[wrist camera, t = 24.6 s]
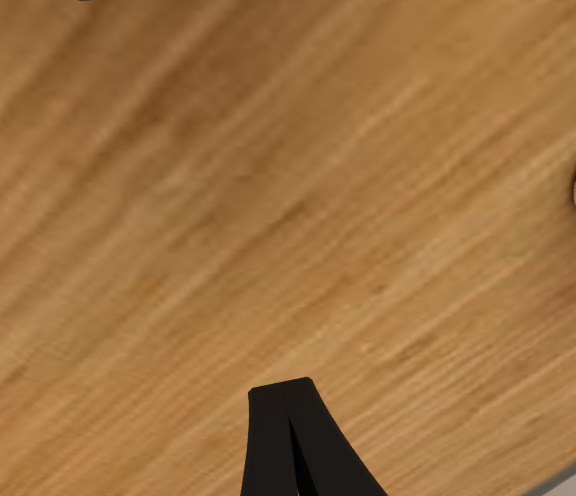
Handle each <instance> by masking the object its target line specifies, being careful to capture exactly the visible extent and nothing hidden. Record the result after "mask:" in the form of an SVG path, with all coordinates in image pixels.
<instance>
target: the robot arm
mask: <svg viewBox="0 0 576 496" xmlns="http://www.w3.org/2000/svg"><path fill="white" fill-rule="evenodd" d="M248 399H249V430H248V442H247V453H246V460H245V467H244V475H243V482H242V489H241V495H240V496H298V493H299V496H388V495H387V494H386V492H385V491H384V490H383V489H382V487H381V486H380V485H379V484H378V482H377V481H376V480H375V478H374V477H373V476H372V474H371V473H370V472H369V470H368V469H367V468H366V466H365V465H364V463H363V462H362V461H361V459H360V458H359V456H358V455H357V454H356V452H355V451H354V449H353V448H352V447H351V445H350V444H349V442H348V441H347V439H346V438H345V436H344V435H343V433H342V432H341V430H340V429H339V427H338V426H337V424H336V422H335V421H334V419H333V418H332V416H331V414H330V413H329V411H328V409H327V408H326V406H325V404H324V402H323V400H322V399H321V397H320V395H319V393H318V391H317V389H316V387H315V385H314V383H313V380H312V379H310V378H308V377H303V378H299V379H294V380H289V381H284V382H279V383H274V384H269V385H264V386H259V387H254V388H252V389H251V390H250V391H249V392H248ZM297 489H298V491H297Z"/></svg>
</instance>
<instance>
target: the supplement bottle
mask: <svg viewBox="0 0 576 496" xmlns="http://www.w3.org/2000/svg"><path fill="white" fill-rule="evenodd" d="M574 202H575V205H576V181H575V186H574Z"/></svg>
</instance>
